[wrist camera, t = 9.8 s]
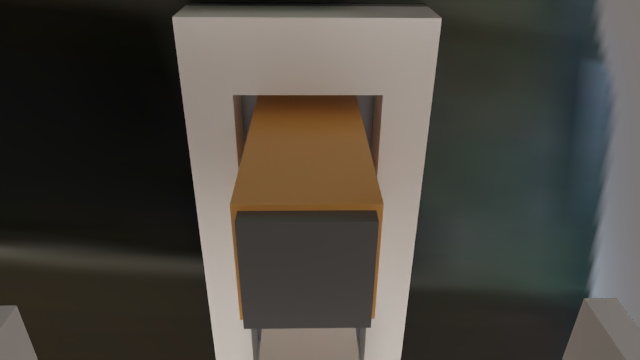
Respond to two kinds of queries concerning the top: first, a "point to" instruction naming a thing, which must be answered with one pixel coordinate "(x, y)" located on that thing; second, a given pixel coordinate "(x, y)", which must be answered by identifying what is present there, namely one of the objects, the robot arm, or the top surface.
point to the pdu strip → (307, 79)
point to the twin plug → (309, 344)
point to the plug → (306, 216)
